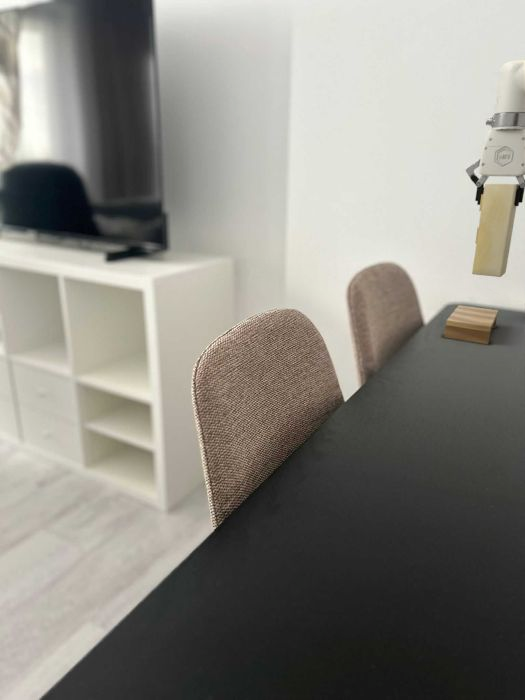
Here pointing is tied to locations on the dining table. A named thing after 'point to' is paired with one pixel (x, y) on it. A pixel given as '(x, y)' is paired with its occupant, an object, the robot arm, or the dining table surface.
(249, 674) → the dining table surface
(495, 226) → the toy refrigerator
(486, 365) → the dining table surface
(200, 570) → the dining table surface
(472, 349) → the dining table surface
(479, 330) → the oak shelf
